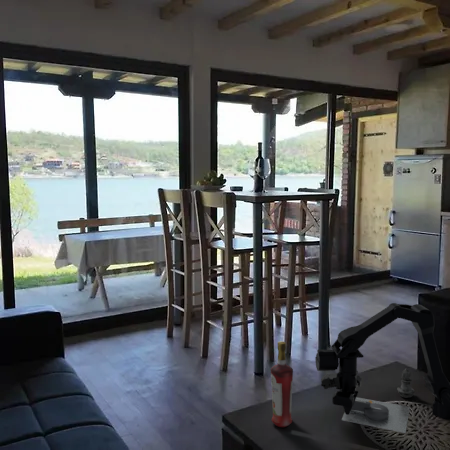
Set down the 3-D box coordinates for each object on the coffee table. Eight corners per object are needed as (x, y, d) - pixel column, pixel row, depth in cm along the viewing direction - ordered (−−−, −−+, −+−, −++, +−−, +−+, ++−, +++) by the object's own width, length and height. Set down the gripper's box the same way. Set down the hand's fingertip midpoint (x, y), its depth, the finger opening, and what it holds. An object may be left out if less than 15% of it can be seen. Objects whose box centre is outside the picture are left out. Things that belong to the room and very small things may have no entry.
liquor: (267, 420, 161) (266, 340, 158) (286, 416, 164) (286, 337, 161) (277, 431, 155) (276, 348, 151) (297, 426, 157) (297, 344, 154)
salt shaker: (414, 404, 171) (415, 371, 170) (397, 401, 173) (397, 369, 172) (413, 396, 177) (414, 365, 175) (396, 394, 178) (397, 363, 177)
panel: (409, 410, 167) (409, 406, 167) (405, 436, 151) (405, 432, 150) (351, 399, 175) (351, 395, 175) (341, 423, 159) (341, 419, 159)
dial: (389, 411, 164) (390, 400, 163) (387, 422, 157) (387, 411, 156) (348, 403, 170) (348, 393, 169) (343, 414, 162) (343, 403, 162)
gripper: (329, 355, 170) (329, 397, 172) (316, 376, 153) (316, 422, 155) (362, 360, 165) (361, 403, 167) (352, 382, 148) (351, 430, 150)
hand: (347, 414), depth 160 cm, fingers closed
